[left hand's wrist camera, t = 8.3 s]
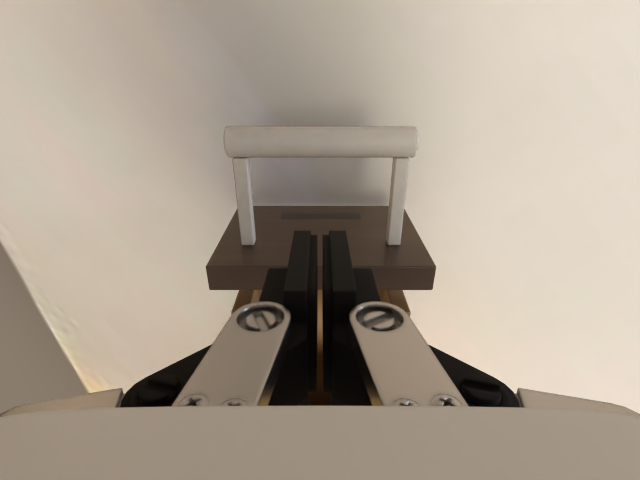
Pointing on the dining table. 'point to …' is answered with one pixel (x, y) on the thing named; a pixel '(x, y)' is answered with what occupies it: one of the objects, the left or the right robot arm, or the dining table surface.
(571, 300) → the dining table surface
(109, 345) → the dining table surface
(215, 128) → the dining table surface
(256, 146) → the drawer
